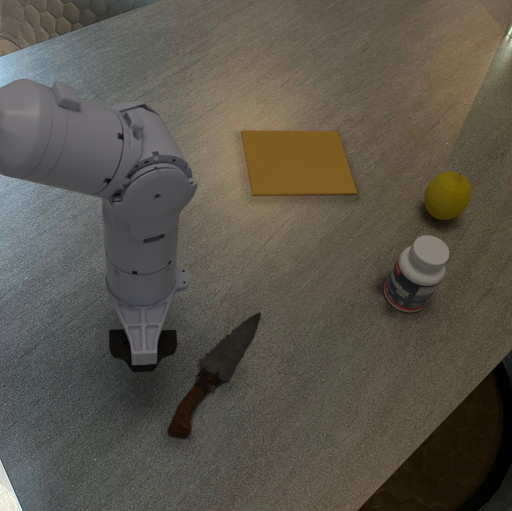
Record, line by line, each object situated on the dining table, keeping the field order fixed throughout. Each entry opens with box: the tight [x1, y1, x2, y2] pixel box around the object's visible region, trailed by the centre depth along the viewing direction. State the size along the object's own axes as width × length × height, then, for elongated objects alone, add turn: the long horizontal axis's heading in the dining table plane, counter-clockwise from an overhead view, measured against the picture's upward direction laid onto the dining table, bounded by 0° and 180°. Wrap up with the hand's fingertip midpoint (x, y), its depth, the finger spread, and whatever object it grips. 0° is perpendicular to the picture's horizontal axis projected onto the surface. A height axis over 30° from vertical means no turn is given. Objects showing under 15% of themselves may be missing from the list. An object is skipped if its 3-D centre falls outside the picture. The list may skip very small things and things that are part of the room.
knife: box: [167, 311, 262, 439], centre depth 64 cm, size 17×2×5 cm
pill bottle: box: [383, 234, 451, 313], centre depth 70 cm, size 5×5×9 cm
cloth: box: [240, 130, 358, 197], centre depth 85 cm, size 14×12×1 cm
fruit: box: [423, 170, 472, 221], centre depth 79 cm, size 6×6×8 cm
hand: (141, 332), depth 61 cm, fingers open, 7 cm apart
